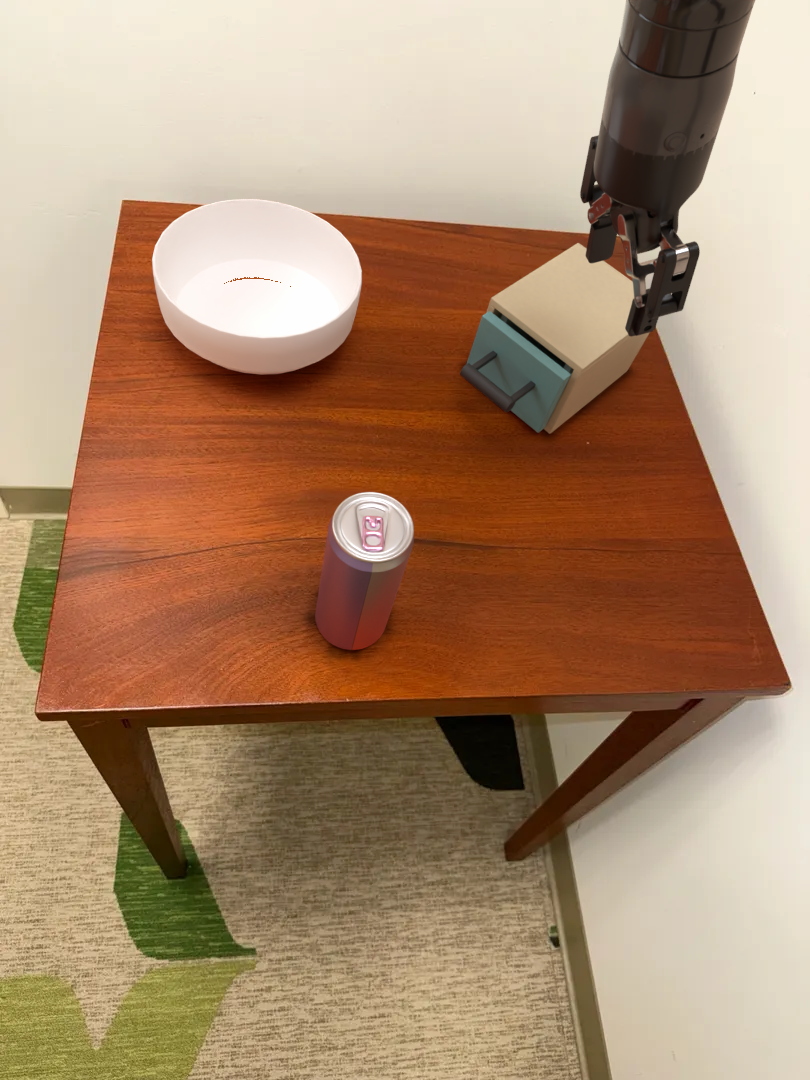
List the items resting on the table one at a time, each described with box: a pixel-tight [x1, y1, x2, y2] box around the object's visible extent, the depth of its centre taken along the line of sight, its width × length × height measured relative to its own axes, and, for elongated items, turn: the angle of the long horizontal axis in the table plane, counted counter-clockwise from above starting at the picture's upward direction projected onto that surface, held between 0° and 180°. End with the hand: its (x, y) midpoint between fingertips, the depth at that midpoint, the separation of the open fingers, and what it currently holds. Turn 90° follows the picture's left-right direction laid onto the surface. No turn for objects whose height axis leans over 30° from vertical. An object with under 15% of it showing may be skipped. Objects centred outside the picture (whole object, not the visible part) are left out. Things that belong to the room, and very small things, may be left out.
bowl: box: [151, 198, 363, 376], centre depth 76 cm, size 20×20×8 cm
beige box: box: [485, 242, 651, 434], centre depth 80 cm, size 15×12×10 cm
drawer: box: [459, 311, 574, 434], centre depth 78 cm, size 18×10×8 cm, turn 136°
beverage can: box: [314, 491, 415, 651], centre depth 58 cm, size 6×6×15 cm
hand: (617, 293), depth 64 cm, fingers open, 8 cm apart
